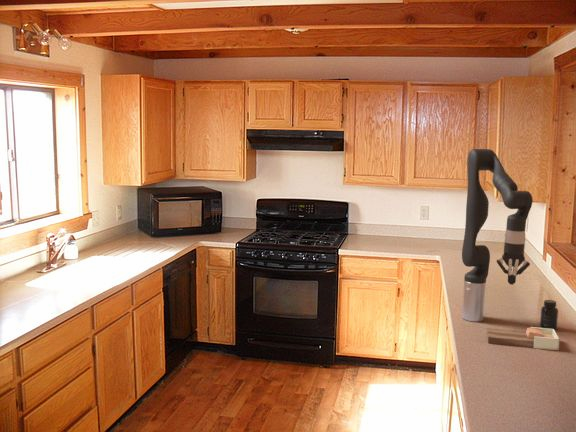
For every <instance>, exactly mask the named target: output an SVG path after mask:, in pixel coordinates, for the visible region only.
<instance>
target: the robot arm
mask: <svg viewBox="0 0 576 432" xmlns="http://www.w3.org/2000/svg"><path fill="white" fill-rule="evenodd" d="M466 163H467V164H466V167H467V170H466V171H467V172H466V173H467V192H466V193H467V196H466V205H465V206H466V207H465V224H464V225H465V227H464V236H463V243H462V249H461V260H462V263H463V265H464V266H466V267H473V268H472V269H471V270H469V271H467V272H466V273H465V274H464V279H463V280H464V281H463V296H462V297H463V298H462V307H461V309H462V310H461V318H462V320H465V321H469V322H482V321H484V316H485V315H484V314H485V303H486V302H485V301H486V285H487V278H488V276H489V269H490V261H491V253H490V250H489V248H488V247H487V245H485V244H479V245H478V244H477V245H476V243H477V242H476V241H477V237H478V235H479V232H480V230H481V229H482V227H483V226H484V225H485V223H486V221H487V220H488V217H489V203H490V201H489V198H488V196H487V194H486V192H485V190H484V189H483V187H482V184H481V182H480V176H479V175H480V171H488V172H491V173H492V174H493V175H492V185H493V186H494V188H495V189H496V190H497V191H498V193H499V194H500V196H501V198H502V201H503V205H504V206H505V207H506V208H507V209H510V210H516V212H515V213H512V214H510V215H508V216H507V218H506V228H505V233H504V245H503V254H502V256H501V258H497V259H496V263H497V264H498V266H499V268H500V269H501V270H502V272H503V273H504V274H506V275H507V283H508V284H509V285H514V284H516V281H517V280H516V279H517V276H518V275H522V273H524V271H526V270H527V269H528V268H529V266H530V265H531V263H530V262H529V260H526V256H525V246H526V226H527V220H528V217H529V215H530V214H529V213H530V211H531V209H532V206H533V203H534V201H533V196H532V193H530V192H529V191H527V190H518V189H519V188H518V185H517V183H516V182H515V180H513V179H512V178H511V176H510V175H509V174H508V173H507V172H506V170H505V168H504V166H503V164H502V161H500V159H499V157H498V156H497V154H496V153H495V151H494V150H492V149H491V148H472V149H471V150H469V152H468V154H467V160H466ZM503 261H504V262H503ZM504 264H505V265H506V266H507V269H506V268H505V265H504ZM521 264H522V266H521ZM520 266H521V267H520ZM518 267H520V268H518Z"/></svg>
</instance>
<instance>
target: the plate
mask: <svg viewBox="0 0 576 432" xmlns="http://www.w3.org/2000/svg"><path fill="white" fill-rule="evenodd" d="M485 334H486V339H487V343H488V344H494V345H504V346H512V347H513V346H514V347H525V348H533V347H534V340H533V339H532V338H528V336H527V334H526V331H519V330H512V329H511V330H509V329H508V330H507V329H499V328H498V329H497V328H487V327H486V331H485ZM533 349H534V348H533Z"/></svg>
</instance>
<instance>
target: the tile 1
mask: <svg viewBox="0 0 576 432" xmlns="http://www.w3.org/2000/svg"><path fill="white" fill-rule="evenodd" d="M525 332H526V334H527V336H528V338H532V339H534V336H536V337H542V335H543V334H542V333H541V331H540V330H536V329H532V328H530V327H527V328H526V331H525Z"/></svg>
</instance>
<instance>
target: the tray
mask: <svg viewBox="0 0 576 432" xmlns="http://www.w3.org/2000/svg"><path fill="white" fill-rule="evenodd" d="M529 328H532V329H536V330H540V331H541V333H542V334H547V335H553V336H554V338H547V337H536V336H534V339H533V340H534V347H533V349H539V350H549V351H559V348H560V337H559V336H558V334H557V333H556V330H554V329H548V328H541V327H534V326H530V327H529Z"/></svg>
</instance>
